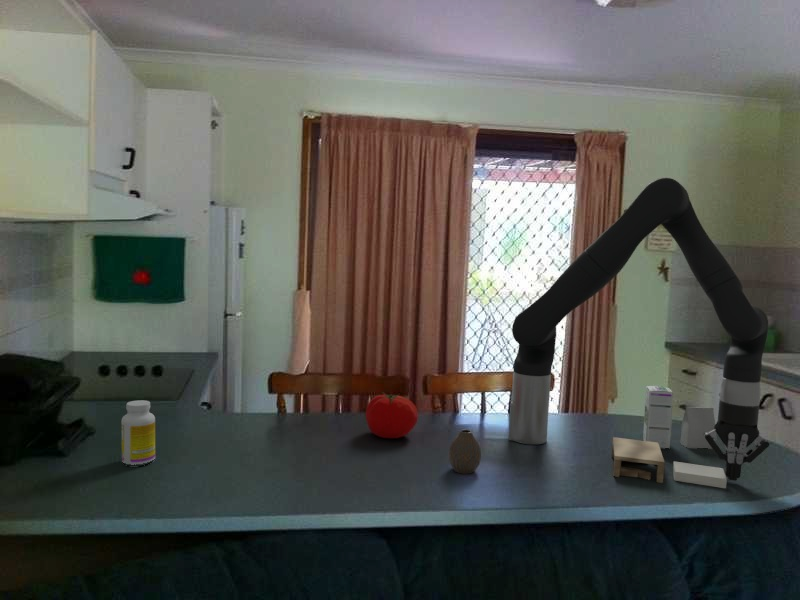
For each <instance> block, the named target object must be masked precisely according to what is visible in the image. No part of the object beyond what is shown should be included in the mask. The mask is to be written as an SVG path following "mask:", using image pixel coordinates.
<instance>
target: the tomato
mask: <svg viewBox="0 0 800 600" xmlns="http://www.w3.org/2000/svg"><path fill="white" fill-rule="evenodd" d="M381 393H382V394H378V395H376V396H374V397H373V398H372V399H371V400H370V401H369V403H368V405H367V407H366V411H365V419H366V423H367V426H368V428H369V431H370V432H371V433H373V435H376V436H377V437H380V438H383V439H394V438H395V439H398V438H401V437H405V436H406V435H408V434H409V433H411V431H412V430H413V429H414V428H415V426H416V424H417V423H418V420H419V415H418V410H417V407H416V405H415V404H414V403H413V401H411V400H410V399H408V398H406V397H403V396H401V395H400V394H396V395H393V394H386V393H385V392H383V391H381Z"/></svg>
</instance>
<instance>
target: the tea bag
mask: <svg viewBox="0 0 800 600" xmlns="http://www.w3.org/2000/svg"><path fill="white" fill-rule="evenodd" d="M715 425H716V419H715V411H714V408H713V407H704V406H703V407H700V406H699V407H696V406H694V407H693V406H686V407H685V412H684V414H683V417H682V420H681V431H680V443H681V444H680V443H679V444H680V445H682V446H683V445H684V446H683V447H685V448H686V447H687V448H686V449H697V448H708V449H709V450H713V449H712V447H711V446H710V444H709V443H708V442H707V440H706V439H705V437H704V435H703V434H704V432H710V431H712V430H713V429H714V426H715ZM708 449H707V450H708Z"/></svg>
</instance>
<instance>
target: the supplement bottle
mask: <svg viewBox="0 0 800 600" xmlns="http://www.w3.org/2000/svg"><path fill="white" fill-rule="evenodd" d="M125 408H126V409H125V410H126V411H127V413H126V414H125V415H123V416H122V418H121V420H120V421H121V423H120V424H121V463H122V462H123V463H126V464H131V465H134V464H135V465H136V464H143V463H147V462H150V461H152V460H154V459H155V460H156V417H155V415H154V414H153V413H151V412H150V409H151V402H150V401H149V400H142V399H141V400H138V399H137V400H132V401H131V400H130V401H128V402H127V403H126V405H125ZM155 460H154V461H155ZM123 463H122V464H123Z"/></svg>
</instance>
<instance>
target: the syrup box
mask: <svg viewBox="0 0 800 600" xmlns="http://www.w3.org/2000/svg"><path fill="white" fill-rule="evenodd" d="M673 399H674V392H673V391H672V390H671V388H669V387H668V386H660V385H646V387H645V399H644V400H645V402H644V413H643V414H644V417H643V433H642V441H649V442H658V444H659V447H660V449H665V448H669V449H670V447H671V435H672V420H673V419H672V417H673V401H674V400H673Z"/></svg>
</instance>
